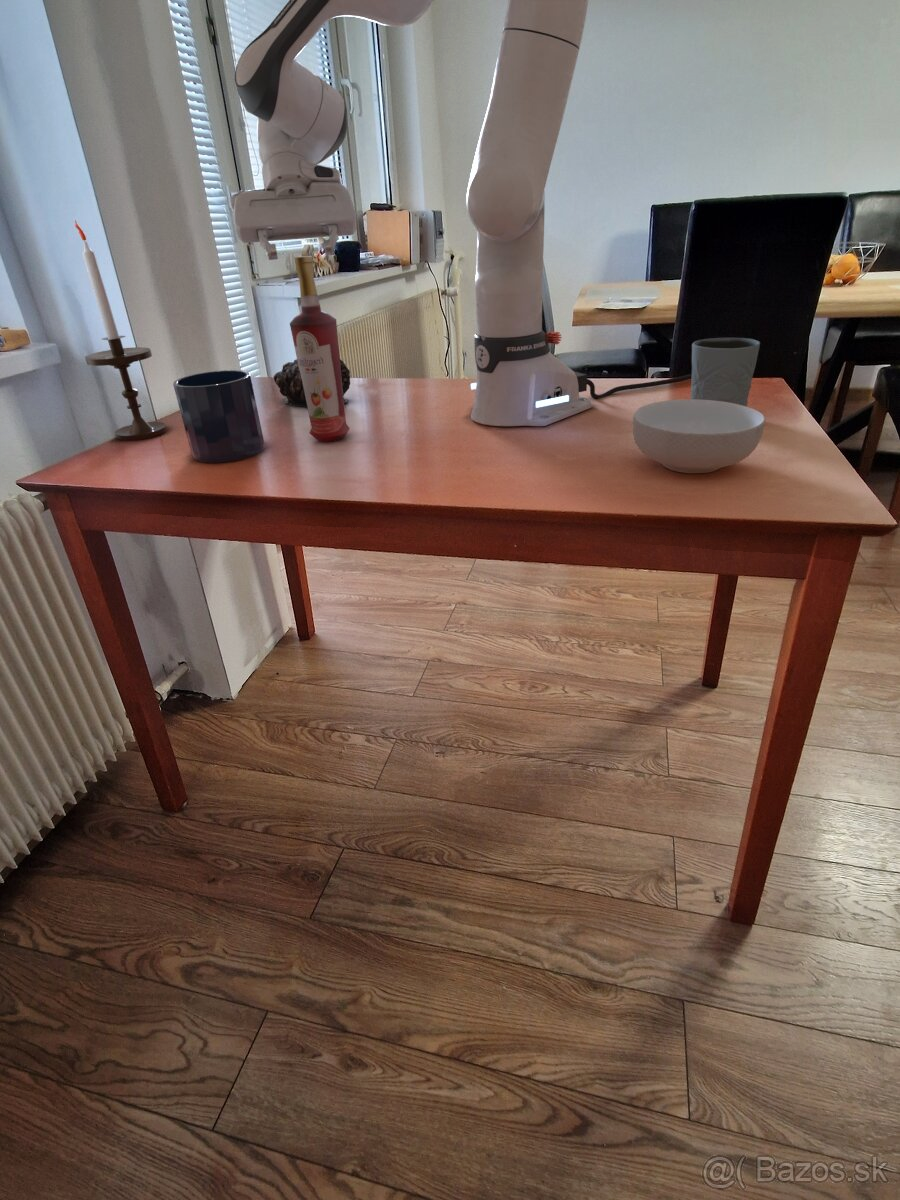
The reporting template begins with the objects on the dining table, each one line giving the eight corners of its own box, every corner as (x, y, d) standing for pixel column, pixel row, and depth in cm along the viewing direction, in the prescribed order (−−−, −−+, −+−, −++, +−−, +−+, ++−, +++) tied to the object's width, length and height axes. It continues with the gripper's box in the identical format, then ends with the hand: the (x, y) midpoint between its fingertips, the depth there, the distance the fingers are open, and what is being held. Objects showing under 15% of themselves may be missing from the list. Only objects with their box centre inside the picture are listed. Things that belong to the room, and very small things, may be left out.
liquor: (359, 432, 117) (335, 253, 103) (340, 445, 111) (313, 257, 97) (321, 431, 119) (293, 255, 105) (301, 444, 113) (269, 259, 99)
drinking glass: (727, 430, 105) (739, 350, 99) (671, 419, 112) (679, 344, 106) (759, 415, 111) (772, 339, 105) (704, 406, 118) (713, 334, 112)
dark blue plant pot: (251, 436, 119) (236, 366, 113) (275, 451, 111) (260, 377, 104) (184, 451, 114) (165, 379, 108) (204, 468, 105) (184, 390, 99)
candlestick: (98, 439, 124) (26, 223, 106) (145, 423, 132) (85, 220, 114) (138, 444, 119) (70, 219, 101) (184, 427, 127) (128, 216, 110)
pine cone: (289, 395, 145) (281, 347, 140) (361, 398, 139) (355, 347, 134) (261, 408, 137) (251, 357, 132) (336, 411, 131) (328, 358, 125)
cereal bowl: (692, 496, 84) (699, 440, 80) (605, 461, 96) (607, 412, 93) (784, 467, 90) (795, 414, 87) (691, 438, 103) (697, 392, 99)
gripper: (224, 176, 110) (234, 244, 107) (348, 168, 113) (361, 235, 110) (232, 207, 116) (241, 273, 113) (349, 200, 119) (361, 264, 116)
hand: (301, 254), depth 111 cm, fingers open, 8 cm apart
